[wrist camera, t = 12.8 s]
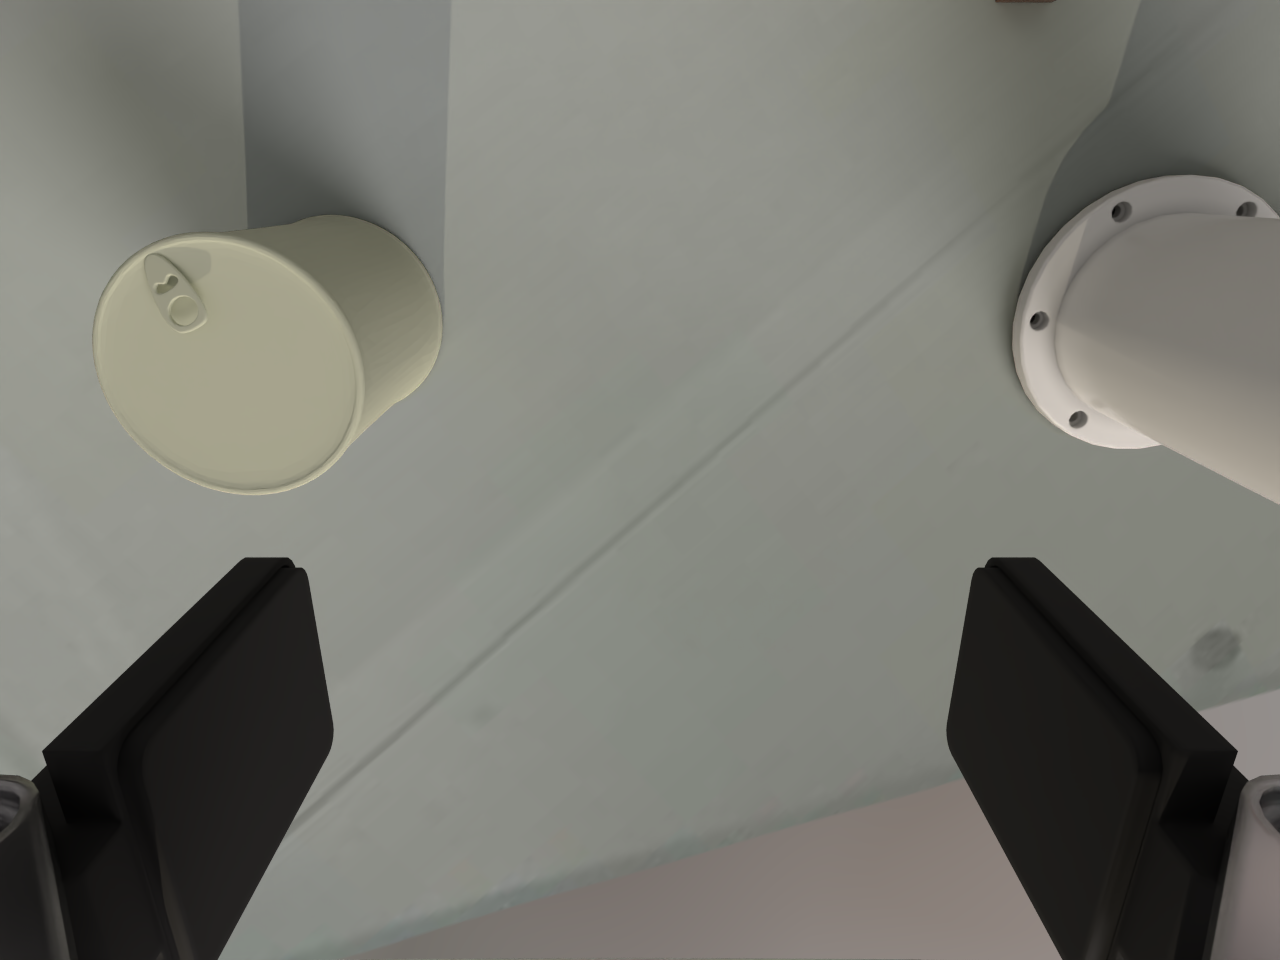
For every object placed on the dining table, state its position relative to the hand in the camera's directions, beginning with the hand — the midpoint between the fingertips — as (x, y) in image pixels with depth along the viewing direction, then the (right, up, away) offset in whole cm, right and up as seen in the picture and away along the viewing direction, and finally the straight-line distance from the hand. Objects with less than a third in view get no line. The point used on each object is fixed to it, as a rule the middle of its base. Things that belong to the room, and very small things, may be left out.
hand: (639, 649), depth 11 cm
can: (-14, +10, +27) cm, 32 cm away
